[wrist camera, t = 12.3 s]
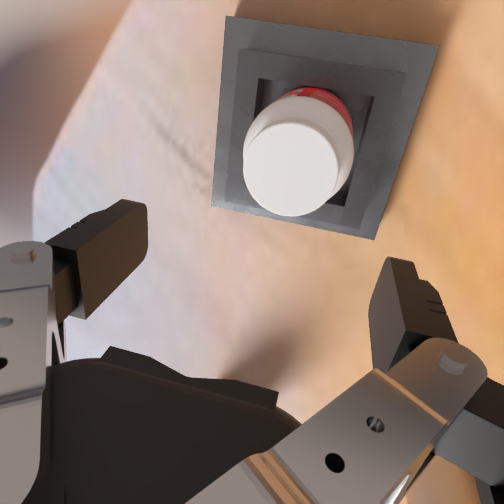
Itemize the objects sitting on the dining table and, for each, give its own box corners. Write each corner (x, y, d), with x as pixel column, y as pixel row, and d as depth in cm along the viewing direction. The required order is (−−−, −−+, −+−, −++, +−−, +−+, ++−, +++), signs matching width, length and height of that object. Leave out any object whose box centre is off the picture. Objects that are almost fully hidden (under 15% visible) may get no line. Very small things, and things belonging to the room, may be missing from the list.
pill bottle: (305, 64, 25) (280, 72, 16) (370, 123, 26) (385, 164, 16) (252, 136, 28) (204, 179, 19) (312, 187, 29) (296, 252, 20)
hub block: (433, 46, 25) (449, 44, 21) (372, 229, 32) (376, 254, 28) (233, 17, 26) (214, 12, 23) (218, 197, 33) (201, 216, 30)
